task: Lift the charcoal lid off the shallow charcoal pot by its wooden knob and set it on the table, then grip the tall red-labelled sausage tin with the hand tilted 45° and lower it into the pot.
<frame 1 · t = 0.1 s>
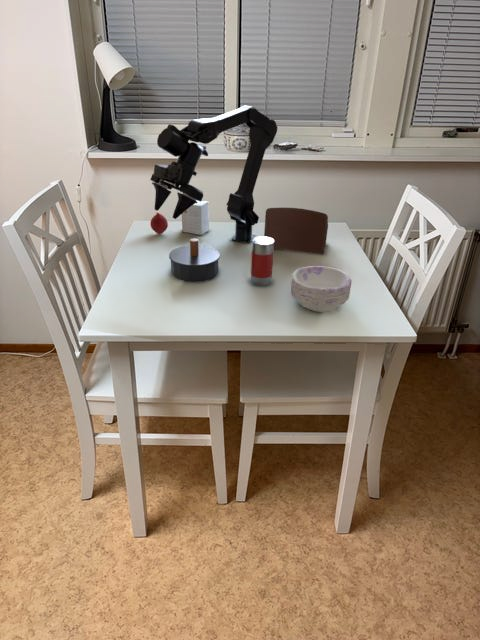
hand: (164, 214, 142), 15 cm above the table, tool tilted 30°, fingers open, 9 cm apart
onion: (159, 234, 169), on the table
paper bowls: (318, 304, 129), on the table
pot: (194, 271, 143), on the table
small box: (195, 231, 173), on the table
sausage tin: (261, 281, 139), on the table
lid: (194, 256, 141), point 5 cm above the table, touching pot
letter holder: (295, 246, 163), on the table
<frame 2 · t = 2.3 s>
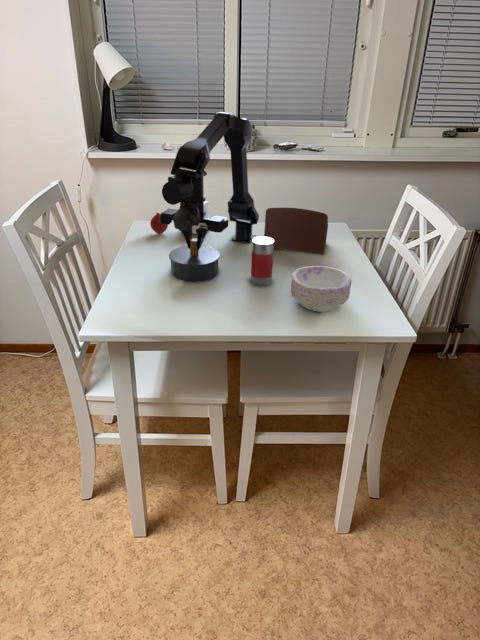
hand: (194, 249, 140), 7 cm above the table, tool pointing down, fingers closed on lid, 2 cm apart
lid: (194, 256, 141), point 5 cm above the table, touching gripper, pot
everything else where it was.
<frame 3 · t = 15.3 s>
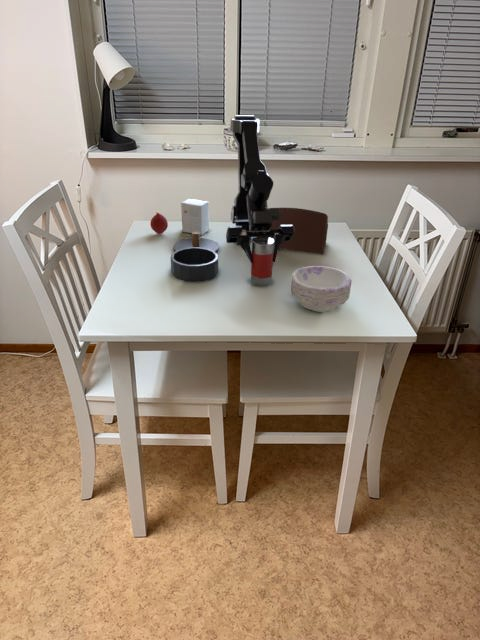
hand: (263, 262, 134), 7 cm above the table, tool tilted 45°, fingers closed on sausage tin, 6 cm apart
sausage tin: (261, 281, 139), on the table, touching gripper
lid: (196, 247, 158), point 1 cm above the table
everything else where it was.
when the fingers open (7 cm above the table, at t = 23.2 s): sausage tin stays where it is, resting on pot.
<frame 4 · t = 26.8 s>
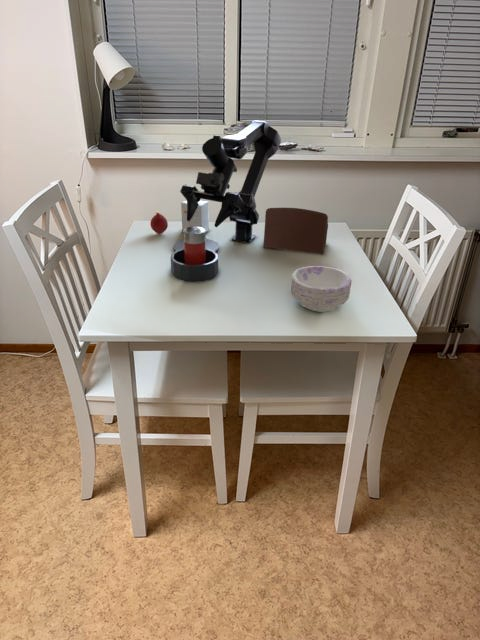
hand: (201, 223, 140), 14 cm above the table, tool tilted 45°, fingers open, 9 cm apart
sausage tin: (195, 270, 143), resting on pot
everything else where it was.
at the end: lid inside the target area (0.1 cm from its centre), point 0.6 cm above the table; sausage tin inside the target area in the pot (0.1 cm from its centre), point 0.4 cm above the pot's base; sausage tin tilted 0° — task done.
